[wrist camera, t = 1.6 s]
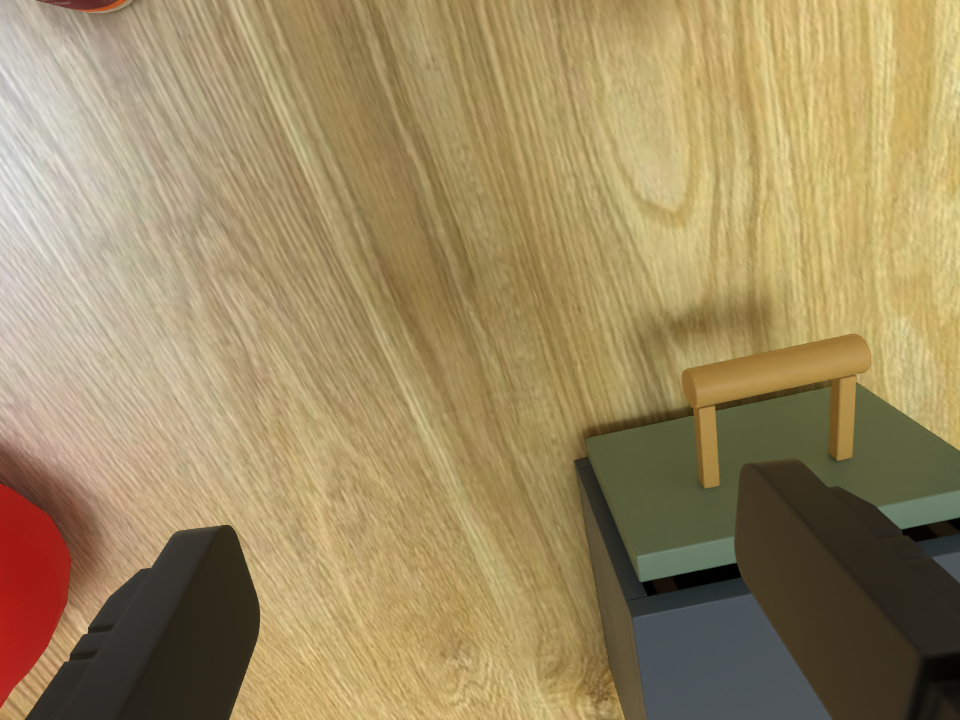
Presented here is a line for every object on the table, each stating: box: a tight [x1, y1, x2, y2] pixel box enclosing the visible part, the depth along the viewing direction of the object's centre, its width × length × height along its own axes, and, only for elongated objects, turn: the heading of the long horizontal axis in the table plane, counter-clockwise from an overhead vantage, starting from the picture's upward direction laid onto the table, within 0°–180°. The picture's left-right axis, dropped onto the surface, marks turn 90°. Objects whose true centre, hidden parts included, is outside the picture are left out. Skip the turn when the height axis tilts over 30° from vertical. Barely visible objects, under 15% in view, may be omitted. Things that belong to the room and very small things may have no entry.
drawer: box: [586, 334, 960, 596], centre depth 25 cm, size 18×12×8 cm
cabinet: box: [574, 458, 960, 720], centre depth 27 cm, size 15×14×10 cm
